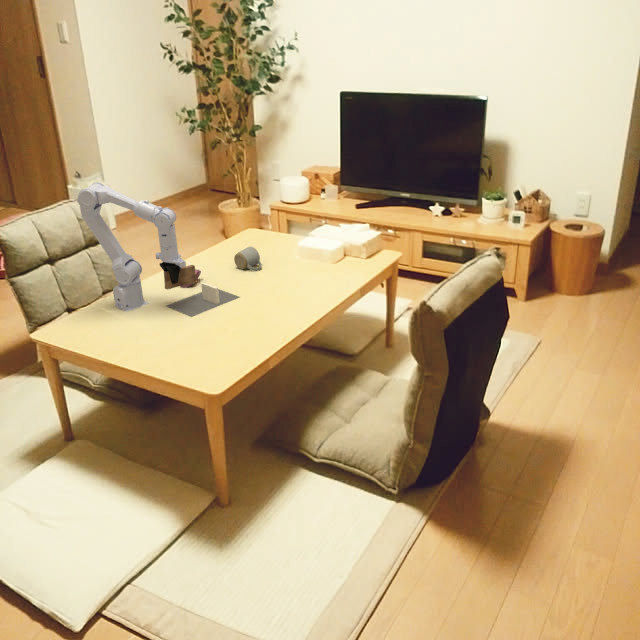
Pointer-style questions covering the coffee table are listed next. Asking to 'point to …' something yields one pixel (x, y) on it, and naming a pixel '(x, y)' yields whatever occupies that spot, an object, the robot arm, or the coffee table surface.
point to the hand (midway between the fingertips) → (173, 282)
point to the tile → (210, 293)
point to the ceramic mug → (248, 259)
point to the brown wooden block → (181, 277)
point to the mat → (200, 303)
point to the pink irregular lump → (197, 274)
